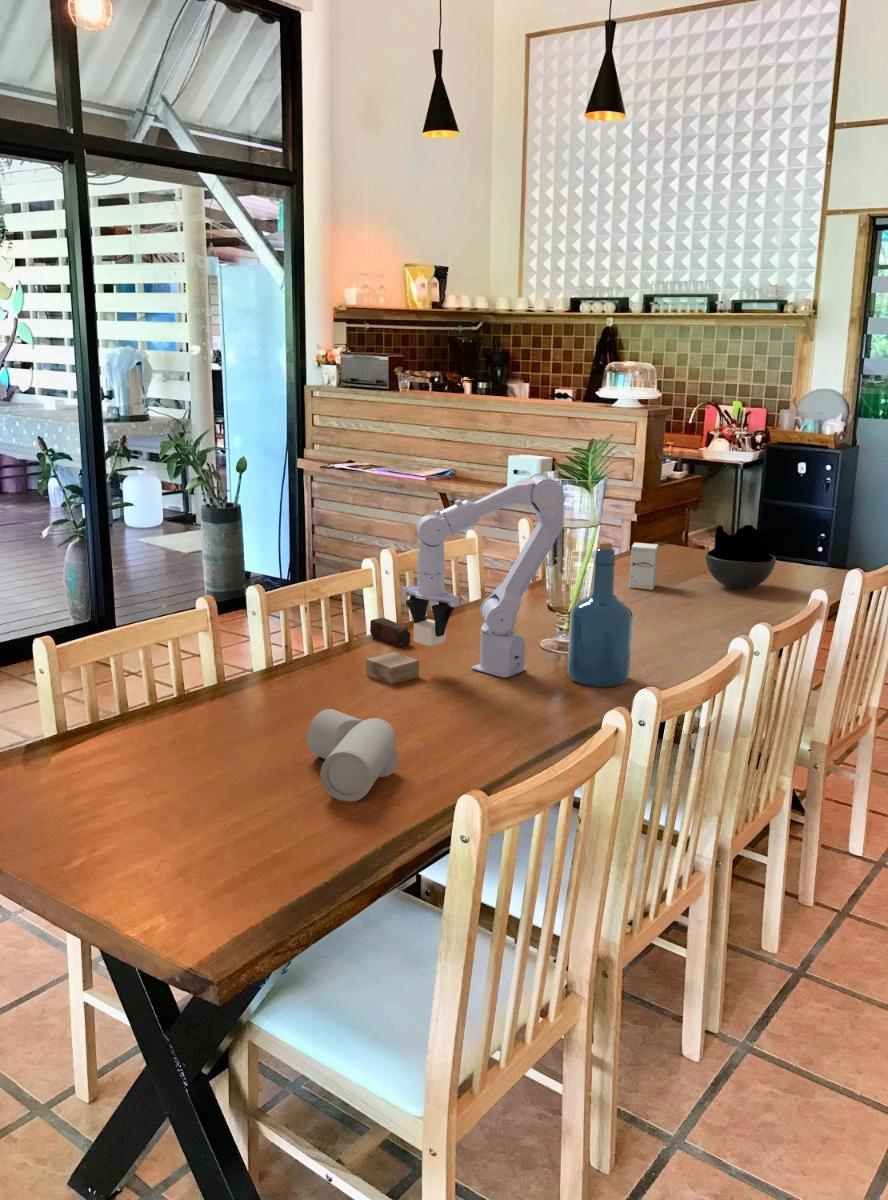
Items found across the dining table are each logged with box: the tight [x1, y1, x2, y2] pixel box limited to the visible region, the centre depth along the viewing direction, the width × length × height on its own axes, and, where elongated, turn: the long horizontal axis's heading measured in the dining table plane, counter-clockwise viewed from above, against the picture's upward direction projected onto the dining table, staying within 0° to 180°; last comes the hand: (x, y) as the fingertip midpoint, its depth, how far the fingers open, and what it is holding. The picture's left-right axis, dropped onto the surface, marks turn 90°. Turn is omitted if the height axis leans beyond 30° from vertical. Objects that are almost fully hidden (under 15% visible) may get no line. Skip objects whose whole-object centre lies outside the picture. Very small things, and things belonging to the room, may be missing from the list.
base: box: [365, 651, 420, 685], centre depth 222 cm, size 8×8×4 cm
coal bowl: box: [705, 524, 777, 590], centre depth 305 cm, size 20×20×19 cm
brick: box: [369, 617, 411, 648], centre depth 247 cm, size 11×4×5 cm, turn 43°
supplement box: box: [628, 542, 659, 591], centre depth 306 cm, size 7×7×13 cm
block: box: [412, 619, 447, 647], centre depth 224 cm, size 5×5×4 cm
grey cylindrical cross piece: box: [306, 708, 399, 802], centre depth 171 cm, size 18×11×20 cm
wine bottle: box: [566, 541, 634, 688], centre depth 220 cm, size 14×13×30 cm
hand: (430, 633), depth 224 cm, fingers closed on block, 5 cm apart
